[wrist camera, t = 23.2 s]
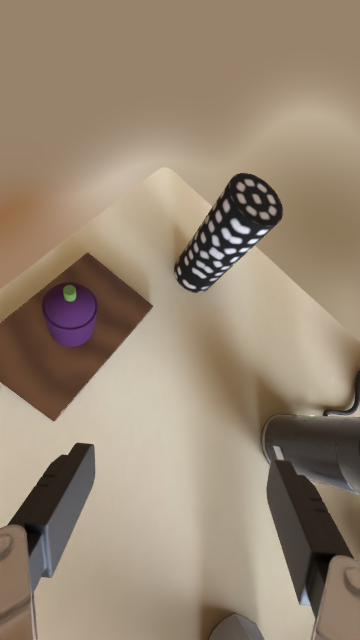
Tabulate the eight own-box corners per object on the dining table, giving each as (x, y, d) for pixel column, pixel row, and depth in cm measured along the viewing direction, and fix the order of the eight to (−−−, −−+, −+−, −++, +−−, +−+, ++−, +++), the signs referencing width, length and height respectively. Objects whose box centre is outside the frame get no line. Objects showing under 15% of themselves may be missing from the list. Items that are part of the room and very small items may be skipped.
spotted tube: (217, 289, 50) (292, 225, 33) (181, 295, 47) (243, 227, 29) (204, 254, 52) (268, 175, 35) (168, 257, 48) (219, 170, 31)
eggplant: (88, 304, 38) (92, 261, 27) (98, 340, 37) (106, 311, 26) (45, 312, 36) (30, 267, 24) (54, 351, 34) (42, 323, 23)
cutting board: (87, 257, 42) (87, 252, 41) (151, 309, 44) (153, 306, 42) (-33, 356, 32) (-38, 353, 31) (54, 421, 33) (54, 421, 32)
